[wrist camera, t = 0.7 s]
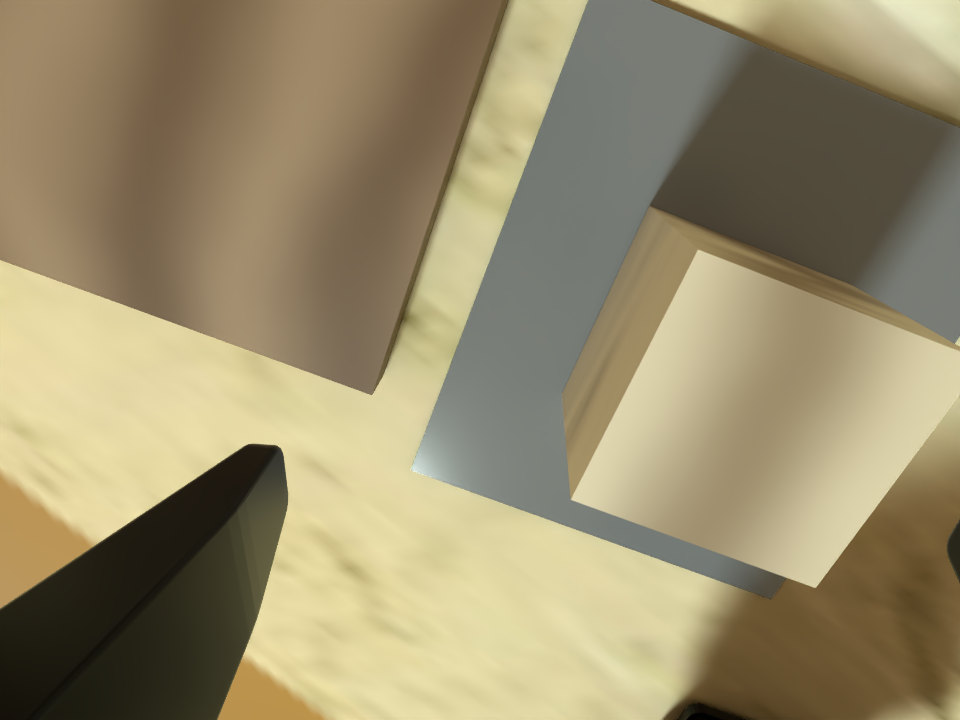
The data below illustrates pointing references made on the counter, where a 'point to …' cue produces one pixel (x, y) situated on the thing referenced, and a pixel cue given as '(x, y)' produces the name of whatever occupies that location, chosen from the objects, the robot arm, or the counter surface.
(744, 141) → the tile
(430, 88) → the walnut pad
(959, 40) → the counter surface
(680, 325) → the oak block
